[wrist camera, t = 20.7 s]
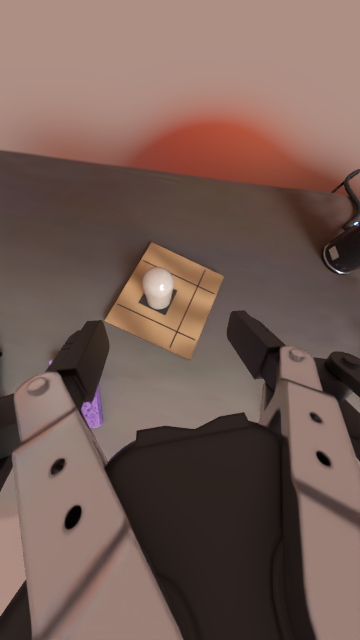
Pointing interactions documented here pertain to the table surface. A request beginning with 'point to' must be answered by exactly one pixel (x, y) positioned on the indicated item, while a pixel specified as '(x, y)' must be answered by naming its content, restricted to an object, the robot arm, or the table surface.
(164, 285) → the beige rounded cylinder
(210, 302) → the game board
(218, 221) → the table surface
